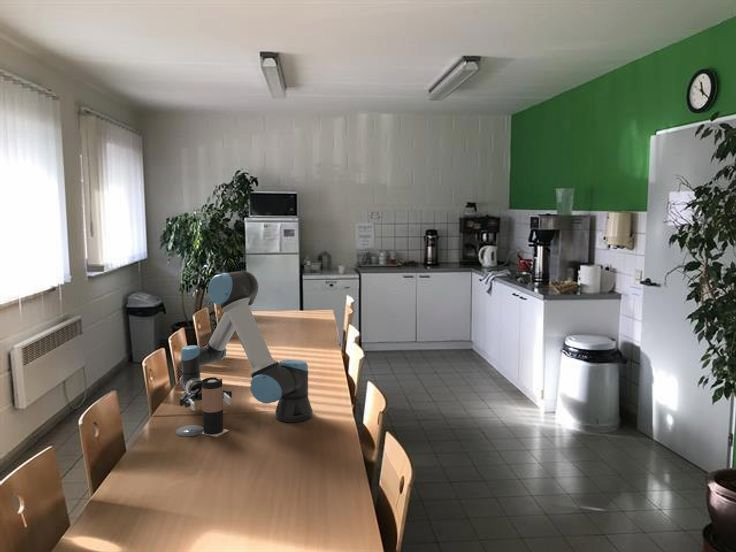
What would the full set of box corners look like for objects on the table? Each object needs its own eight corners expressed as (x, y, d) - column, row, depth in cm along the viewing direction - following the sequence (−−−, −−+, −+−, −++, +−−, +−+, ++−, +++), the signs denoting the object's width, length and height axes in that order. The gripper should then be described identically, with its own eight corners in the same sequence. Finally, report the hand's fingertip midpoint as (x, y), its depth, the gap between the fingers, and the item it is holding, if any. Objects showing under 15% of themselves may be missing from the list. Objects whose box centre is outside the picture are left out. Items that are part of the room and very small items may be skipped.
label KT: (228, 430, 225) (228, 430, 225) (216, 436, 219) (216, 436, 219) (210, 426, 229) (210, 426, 229) (197, 432, 223) (197, 432, 223)
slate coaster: (209, 429, 227) (209, 427, 226) (190, 438, 218) (190, 436, 218) (189, 425, 231) (189, 423, 231) (170, 433, 222) (170, 432, 222)
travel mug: (202, 435, 220) (201, 383, 217) (203, 428, 227) (201, 377, 225) (224, 433, 222) (222, 382, 219) (223, 426, 229) (222, 376, 227)
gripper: (227, 393, 248) (244, 408, 229) (166, 403, 235) (178, 419, 217) (227, 376, 247) (243, 389, 229) (165, 384, 234) (177, 399, 216)
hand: (211, 404), depth 223 cm, fingers open, 13 cm apart
